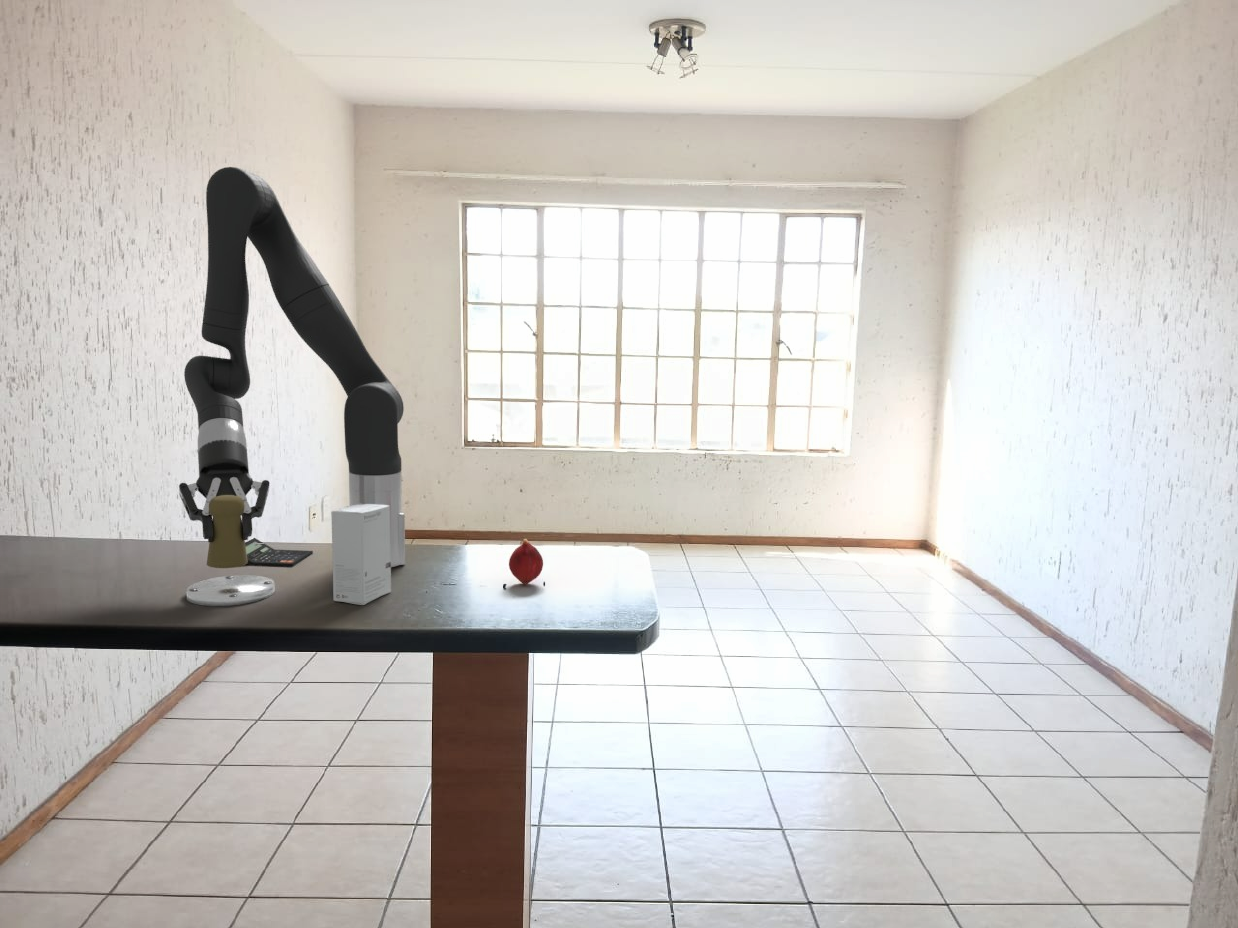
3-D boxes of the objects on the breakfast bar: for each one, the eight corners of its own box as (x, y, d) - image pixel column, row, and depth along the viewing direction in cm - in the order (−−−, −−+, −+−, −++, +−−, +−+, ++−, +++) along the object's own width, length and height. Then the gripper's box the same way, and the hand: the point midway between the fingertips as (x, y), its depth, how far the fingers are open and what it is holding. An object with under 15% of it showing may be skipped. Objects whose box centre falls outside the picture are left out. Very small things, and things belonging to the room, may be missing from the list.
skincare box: (363, 606, 136) (362, 513, 134) (330, 601, 138) (328, 509, 136) (393, 591, 144) (392, 503, 142) (361, 587, 146) (360, 500, 143)
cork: (232, 569, 136) (231, 501, 134) (198, 565, 137) (197, 497, 135) (255, 560, 142) (255, 494, 140) (222, 556, 143) (221, 491, 141)
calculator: (292, 568, 157) (292, 552, 156) (229, 565, 157) (228, 549, 157) (312, 555, 166) (312, 539, 166) (252, 552, 166) (252, 537, 166)
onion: (548, 582, 152) (549, 538, 151) (531, 591, 147) (532, 544, 145) (520, 577, 154) (520, 533, 153) (502, 585, 149) (502, 540, 148)
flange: (270, 578, 149) (270, 571, 149) (278, 600, 138) (278, 592, 137) (186, 586, 143) (185, 579, 143) (187, 610, 132) (186, 601, 131)
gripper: (174, 438, 140) (177, 529, 131) (269, 437, 146) (278, 523, 138) (175, 466, 145) (178, 554, 137) (267, 463, 152) (275, 547, 143)
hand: (228, 538), depth 137 cm, fingers closed on cork, 4 cm apart
